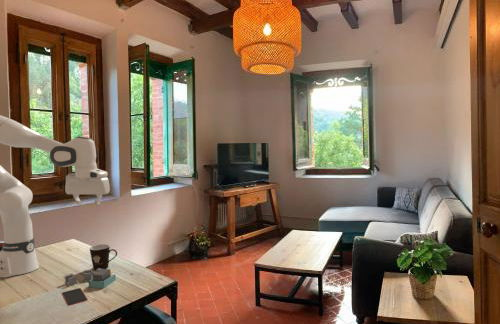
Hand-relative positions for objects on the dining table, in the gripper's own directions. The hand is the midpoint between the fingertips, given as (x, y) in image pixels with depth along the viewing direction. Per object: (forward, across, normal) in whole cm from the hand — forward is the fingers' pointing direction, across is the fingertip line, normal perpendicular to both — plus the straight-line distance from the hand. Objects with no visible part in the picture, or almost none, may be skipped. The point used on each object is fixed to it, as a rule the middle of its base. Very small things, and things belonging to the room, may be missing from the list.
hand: (88, 204), depth 156 cm
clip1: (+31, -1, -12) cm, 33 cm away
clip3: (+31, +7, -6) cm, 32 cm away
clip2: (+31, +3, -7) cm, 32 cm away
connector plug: (+31, +12, -9) cm, 34 cm away
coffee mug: (+31, +2, +5) cm, 32 cm away
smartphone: (+32, +9, -23) cm, 40 cm away
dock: (+31, +12, -10) cm, 35 cm away
